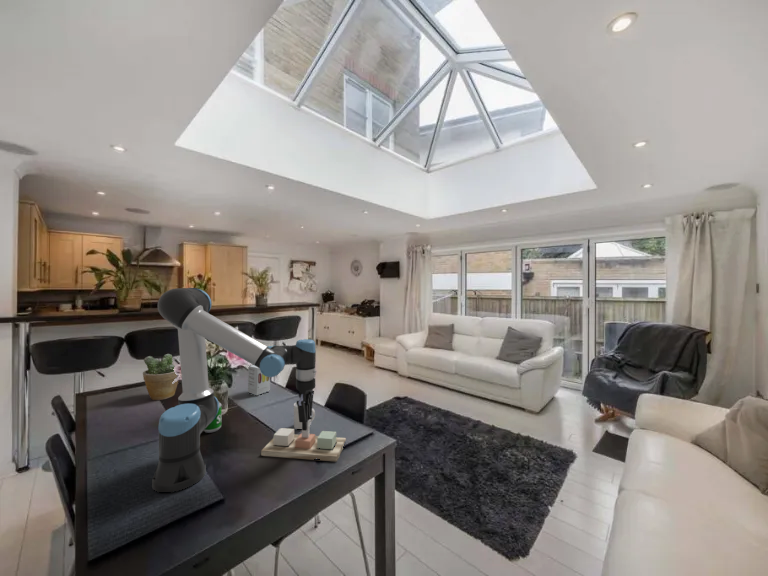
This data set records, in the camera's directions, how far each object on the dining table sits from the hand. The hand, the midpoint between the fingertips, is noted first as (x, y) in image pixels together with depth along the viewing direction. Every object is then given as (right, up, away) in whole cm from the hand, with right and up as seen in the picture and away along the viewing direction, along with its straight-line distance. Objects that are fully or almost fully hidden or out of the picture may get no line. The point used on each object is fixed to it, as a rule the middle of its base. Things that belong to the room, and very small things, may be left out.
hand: (305, 436), depth 124 cm
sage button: (+9, -3, -1) cm, 9 cm away
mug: (-5, -5, +19) cm, 20 cm away
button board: (0, -5, 0) cm, 5 cm away
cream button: (-9, -3, +1) cm, 9 cm away
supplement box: (-45, -4, +64) cm, 78 cm away
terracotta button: (0, -4, 0) cm, 4 cm away
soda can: (-47, -5, +16) cm, 49 cm away
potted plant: (-98, -4, +56) cm, 113 cm away
